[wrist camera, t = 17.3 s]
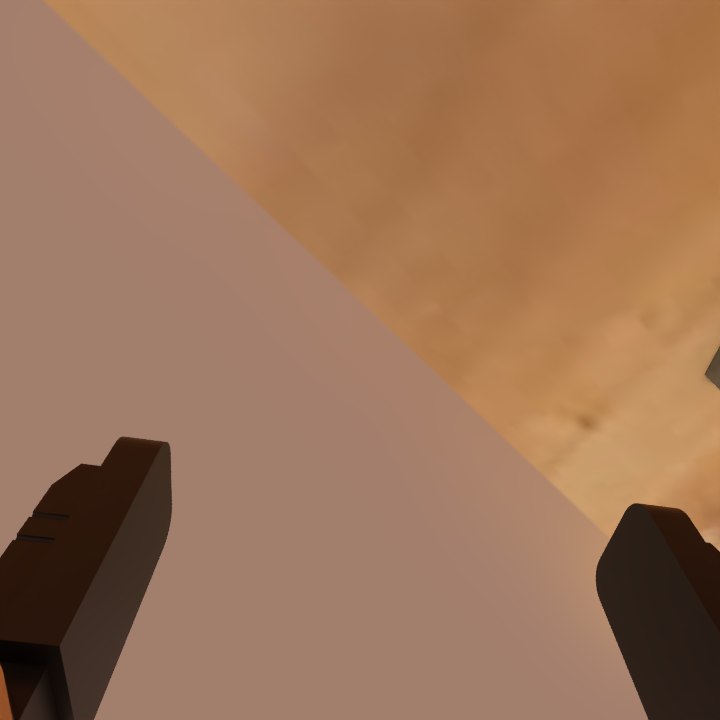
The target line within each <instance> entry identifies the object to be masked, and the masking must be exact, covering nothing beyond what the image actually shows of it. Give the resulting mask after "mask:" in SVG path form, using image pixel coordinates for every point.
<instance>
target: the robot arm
mask: <svg viewBox="0 0 720 720" xmlns="http://www.w3.org/2000/svg"><path fill="white" fill-rule="evenodd" d="M171 513H172V491H171V453H170V446H169V444H168V442H162V441H154V440H146V439H139V438H130V437H121V438H119V439H118V440H117V441H116V443H115V444H114V446H113V447H112V449H111V451H110V452H109V454H108V456H107V457H106V459H105V460H104V462H103V463H102V465H101V466H95V465H87V464H80V465H79V466H77V467H76V468H75V469H73V470H72V471H70V472H69V473H68V474H66V475H65V476H63V477H62V478H61V479H59V480H58V481H57V482H55V483H54V484H52V485H51V487H50V488H49V490H48V491H47V493H46V494H45V495H44V497H43V498H42V500H41V501H40V502H39V504H38V505H37V507H36V508H35V509H34V511H33V515H32V517H29V518H28V519H27V521H26V522H25V523H24V525H23V526H22V528H21V529H20V530H19V532H18V533H17V538H16V540H12V542H11V543H10V545H9V546H8V547H7V549H6V550H5V552H4V553H3V554H2V556H1V557H0V720H94V718H95V715H96V713H97V711H98V708H99V705H100V703H101V701H102V698H103V696H104V693H105V691H106V688H107V686H108V683H109V681H110V678H111V676H112V673H113V671H114V668H115V666H116V664H117V661H118V659H119V656H120V654H121V651H122V649H123V646H124V644H125V641H126V639H127V636H128V634H129V632H130V629H131V627H132V624H133V621H134V619H135V617H136V614H137V612H138V609H139V607H140V604H141V602H142V599H143V597H144V594H145V592H146V590H147V587H148V585H149V582H150V580H151V577H152V575H153V572H154V570H155V567H156V565H157V562H158V560H159V557H160V555H161V552H162V550H163V547H164V545H165V542H166V539H167V535H168V531H169V527H170V521H171ZM596 587H597V592H598V596H599V599H600V601H601V604H602V606H603V609H604V611H605V614H606V616H607V618H608V621H609V624H610V626H611V628H612V631H613V633H614V636H615V638H616V641H617V643H618V646H619V648H620V650H621V653H622V655H623V658H624V660H625V663H626V665H627V668H628V670H629V673H630V675H631V678H632V680H633V682H634V685H635V687H636V690H637V692H638V695H639V697H640V700H641V702H642V705H643V707H644V710H645V712H646V714H647V717H648V719H649V720H720V552H719V551H718V550H717V549H716V548H715V547H714V546H713V545H712V544H711V543H706V542H705V541H704V539H703V538H702V536H701V535H700V533H699V532H698V530H697V529H696V527H695V526H694V524H693V523H692V521H691V520H690V518H689V517H688V515H687V514H686V513H685V512H684V511H682V510H680V509H677V508H670V507H662V506H654V505H646V504H638V503H635V504H632V505H631V506H629V507H628V508H627V510H626V511H625V513H624V515H623V517H622V519H621V521H620V522H619V524H618V526H617V528H616V530H615V532H614V534H613V535H612V537H611V539H610V541H609V543H608V545H607V547H606V548H605V550H604V552H603V554H602V556H601V558H600V560H599V562H598V566H597V570H596Z"/></svg>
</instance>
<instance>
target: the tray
mask: <svg viewBox="0 0 720 720" xmlns="http://www.w3.org/2000/svg"><path fill="white" fill-rule="evenodd" d="M705 375H706V376H707V377H708V378H709V379H710V380H711V381H712V382H713V383H714V384H715V385H716V386H717V387H718V388H719V389H720V348H719V350H718V351H717V353H716V355H715V357H714V359H713V361H712V363H711V364H710V366H709V368H708V370H707V372H706V374H705Z"/></svg>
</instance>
